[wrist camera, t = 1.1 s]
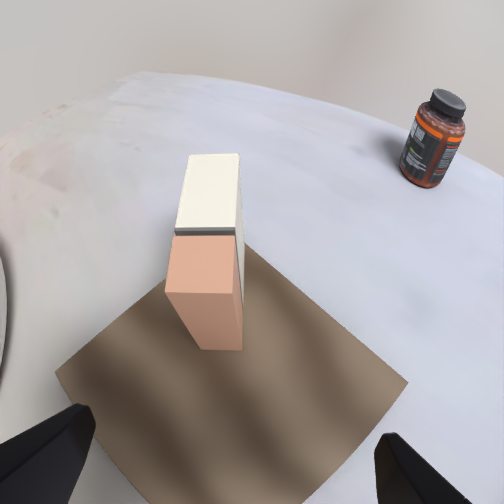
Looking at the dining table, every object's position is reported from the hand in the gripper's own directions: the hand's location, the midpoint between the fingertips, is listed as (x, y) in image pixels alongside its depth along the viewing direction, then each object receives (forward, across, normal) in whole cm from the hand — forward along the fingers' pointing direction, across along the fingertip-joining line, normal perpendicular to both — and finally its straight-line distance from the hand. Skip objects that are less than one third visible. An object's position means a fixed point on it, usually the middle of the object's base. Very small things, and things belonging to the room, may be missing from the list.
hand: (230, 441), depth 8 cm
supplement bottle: (+31, -19, -7) cm, 37 cm away
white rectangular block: (+18, +3, +2) cm, 18 cm away
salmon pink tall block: (+14, +2, +5) cm, 15 cm away
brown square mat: (+11, +2, +9) cm, 15 cm away
